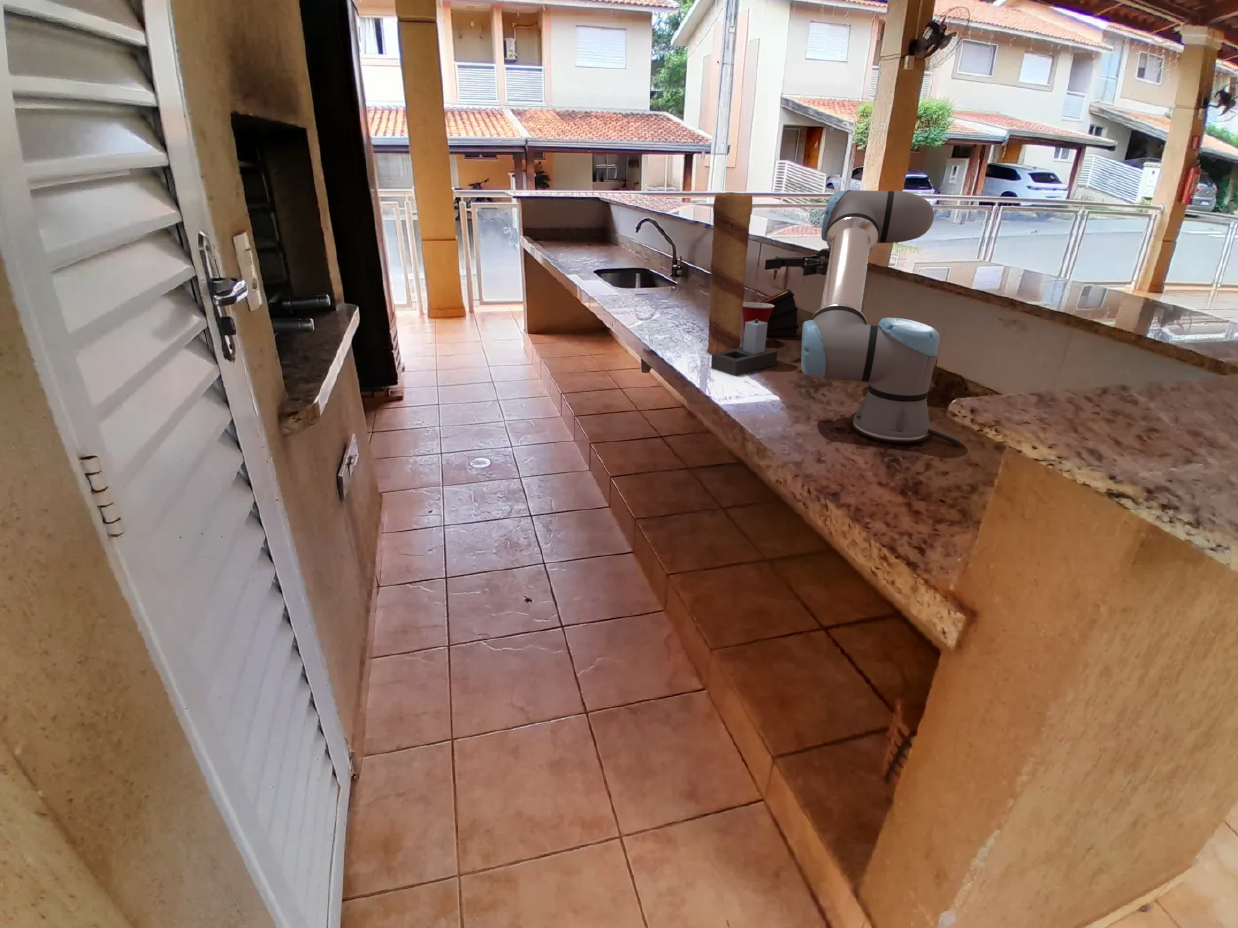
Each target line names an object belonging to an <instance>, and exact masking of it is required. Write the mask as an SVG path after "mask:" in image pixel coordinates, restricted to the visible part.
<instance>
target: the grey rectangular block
mask: <svg viewBox="0 0 1238 928" xmlns="http://www.w3.org/2000/svg"><path fill="white" fill-rule="evenodd" d="M767 324H768V323H766V322H762V321H758V319H755V320H754V321H749V322H745V333H744V332H743V344H742V345H743V346H742V347H743V351H745V352H749V353H752V354H757V353H761V352H765V348H766V345H767V344H766V343H767V336H766V334H767Z"/></svg>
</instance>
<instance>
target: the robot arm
mask: <svg viewBox="0 0 1238 928" xmlns="http://www.w3.org/2000/svg"><path fill="white" fill-rule="evenodd" d="M934 218H935V212H934V208H933V206H932V204H931V203H930V201H928V200H927V199H925V198H924V197H923V196H920V195H918V194H916V193H914V192H913V193H912V192H908V191H905V190H904V191H903V190H863V189H862V190H861V189H860V190H859V189H855V190H854V189H853V190H852V189H847V190H836V191H835V192H833V193H832V194H831V195H830V196H829V199H828V201H827V204H826V206H825V211H824V215H823V218H822V224H821V233H820V234H821V235H820V237H821V240H822V241H824V242H826V245H827V247H826V248H822V249H820V250H818V251H817V253H816V254H812V255H805V254H803V255H792V256H791V255H789V256H778V255H777V256H775V257H774V258H769V259H768V258H767V259H765V263H764V264H765V265H764V270H765V271H768V270H781V268H799V267H800V268H801V269H803V270H802V271H803V272H802V276H804V277H807V276H813V275H818V274H819V275H821V276H825V280H824V286H823V291H822V297H821V302H820V307H819V309H818V310H817V311H815V313H813V315H812V317H811V319H808V320H805V321H804V322H802V331H801V350H800V351H801V353H800V355H801V356H800V363H801V364H800V365H801V367H800V368H801V371H802V373H803V374H804V375H806V376H809V377H814V378H819V379H833V380H843V381H854V382H865V383H868V386H867V392H866V394H865V396H864V398H863V400H862V402H861V403H860V405H859V406H858V408H857V411H856V412H855V414H854V417H853V420H852V429H853V430H854V431H855V432H856V433H858V434H859V435H861V436H863V437H865V438H868V439H870V440H873V441H878V442H881V443H889V444H895V445H897V444H898V445H909V444H917V443H918V444H919V443H921V442H925V441H926V440H927V439H928V438H929V435H932V436H934V437H937V438H940V439H941V440H945V441H947V442H949V443H952V444H954V445H956V446H959V445H960V444H961V440H958V439H956V438H953V437H951V436H948V435H946V434H944V433H941V432H938V431H936V430H934V429H931V423H930V417H929V416H930V415H929V409H928V408H929V407H928V401H927V400H928V395H929V391H930V387H931V383H932V378H933V377H932V376H933V373H934V368H935V364H936V361H937V360H936V359H937V357H938V356H939V347H940V346H939V344H940V338H941V337H940V333H939V332H938V331H937V330H936V329H935V328H934V327H932V326H930V325H928V324H925V323H922V322H919V321H916V320H911V319H906V318H900V317H883V318H881V319H880V320H879V322H878V325H874V324H868V323H867V318H866V316H865V315H864V313H863V312H862V307H863V301H864V300H863V299H864V291H865V284H866V278H867V270H868V265H869V264H868V256H869V255H870V254H872V250H873V249H874V248H875V247H876V245H877V244H896V243H903V242H904V243H905V242H908V241H913V240H916V239H918V238H921V237H922V236H923V235H924V236H925V234H927V232H928V231H929V230H930V229H931V227H932V226H933V222H934ZM872 255H873V254H872ZM867 264H868V265H867Z"/></svg>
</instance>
